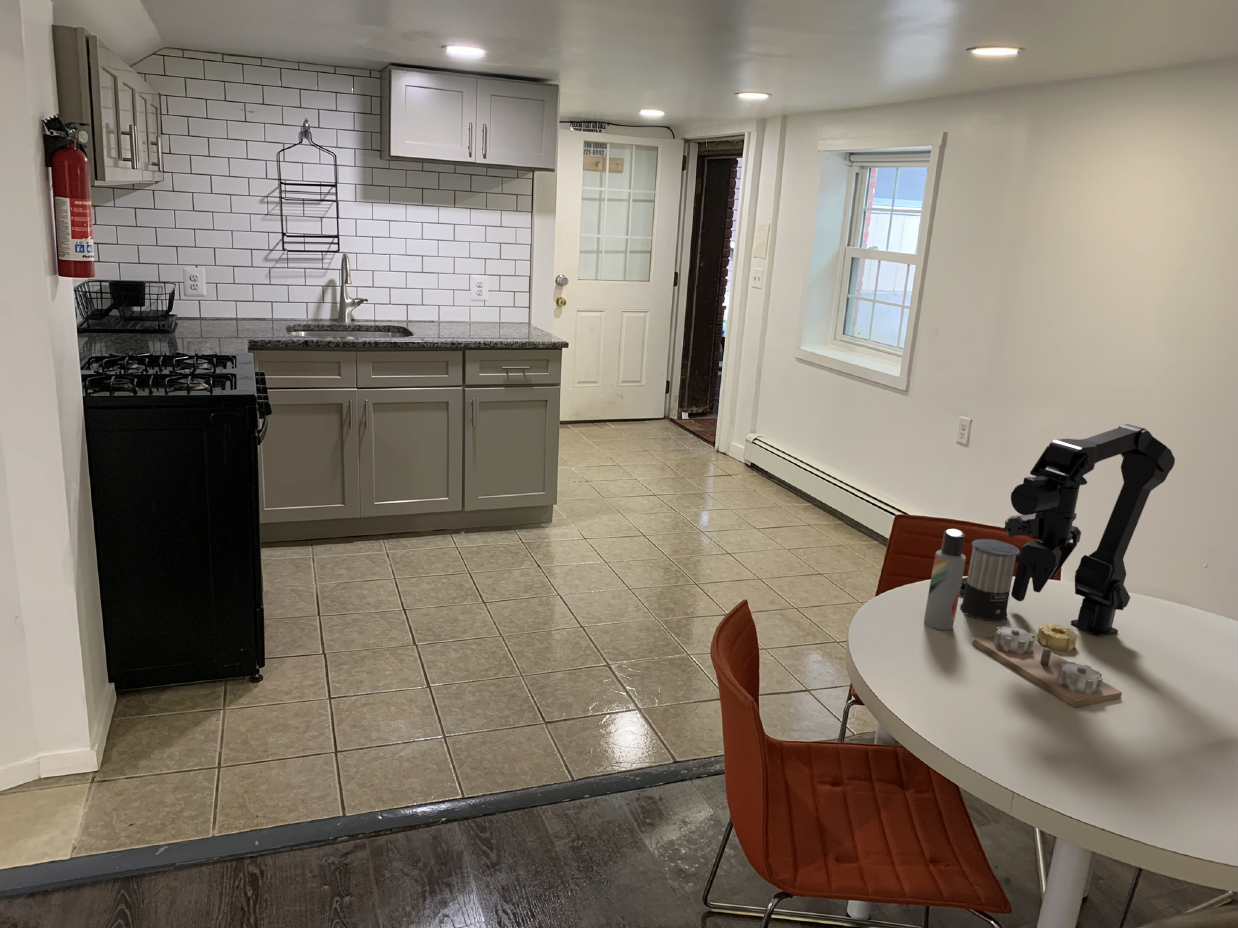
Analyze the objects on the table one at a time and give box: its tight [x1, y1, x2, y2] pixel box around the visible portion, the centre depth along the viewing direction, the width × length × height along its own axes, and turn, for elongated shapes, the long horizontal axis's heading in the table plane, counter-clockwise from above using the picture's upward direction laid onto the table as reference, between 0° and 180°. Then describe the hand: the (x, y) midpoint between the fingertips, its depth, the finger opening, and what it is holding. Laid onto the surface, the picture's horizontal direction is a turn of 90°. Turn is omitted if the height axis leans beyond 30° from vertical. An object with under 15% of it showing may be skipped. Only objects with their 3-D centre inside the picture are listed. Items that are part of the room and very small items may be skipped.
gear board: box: [972, 625, 1123, 708], centre depth 169 cm, size 24×11×4 cm, turn 23°
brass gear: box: [1036, 623, 1078, 652], centre depth 181 cm, size 7×7×2 cm
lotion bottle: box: [923, 528, 967, 631], centre depth 183 cm, size 6×6×20 cm
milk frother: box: [959, 538, 1032, 622], centre depth 195 cm, size 14×16×15 cm
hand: (1043, 584), depth 177 cm, fingers open, 9 cm apart
